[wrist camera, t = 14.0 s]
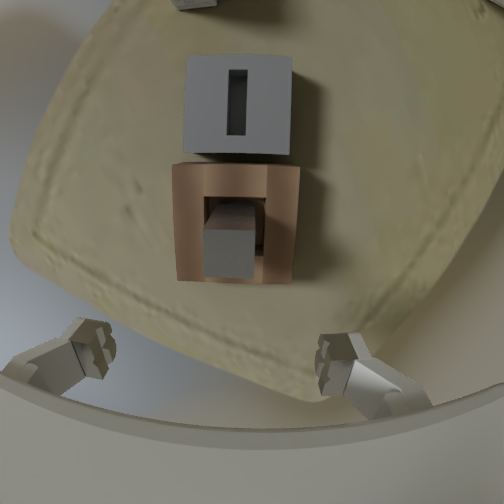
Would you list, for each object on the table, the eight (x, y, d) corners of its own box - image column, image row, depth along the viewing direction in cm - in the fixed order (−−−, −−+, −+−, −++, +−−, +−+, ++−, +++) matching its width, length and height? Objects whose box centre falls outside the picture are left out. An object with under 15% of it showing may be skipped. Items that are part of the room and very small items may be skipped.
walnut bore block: (293, 164, 27) (300, 167, 23) (286, 267, 31) (291, 284, 27) (182, 162, 27) (172, 165, 23) (186, 264, 31) (177, 280, 27)
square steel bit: (254, 201, 28) (255, 230, 18) (253, 234, 29) (253, 278, 19) (219, 200, 28) (202, 229, 18) (219, 233, 29) (203, 277, 19)
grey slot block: (286, 68, 24) (292, 56, 20) (284, 153, 27) (289, 154, 23) (195, 67, 23) (186, 56, 20) (192, 152, 27) (183, 153, 23)
